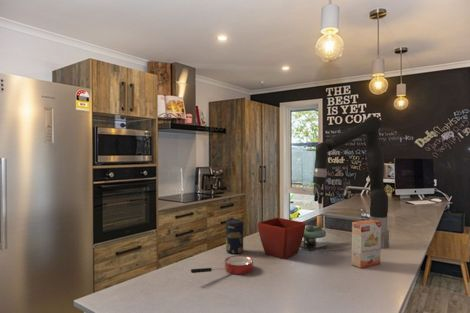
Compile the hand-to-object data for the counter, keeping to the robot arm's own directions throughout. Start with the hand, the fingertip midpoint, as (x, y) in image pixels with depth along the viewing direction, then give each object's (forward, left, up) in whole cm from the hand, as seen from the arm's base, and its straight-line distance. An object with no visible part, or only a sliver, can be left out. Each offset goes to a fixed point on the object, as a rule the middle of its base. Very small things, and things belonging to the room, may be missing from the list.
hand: (317, 202), depth 187 cm
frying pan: (-8, +75, -24) cm, 79 cm away
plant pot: (-3, +34, -24) cm, 42 cm away
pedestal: (-3, +11, -24) cm, 26 cm away
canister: (+15, +52, -24) cm, 59 cm away
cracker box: (-39, +13, -24) cm, 47 cm away
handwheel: (-3, +11, -17) cm, 20 cm away
